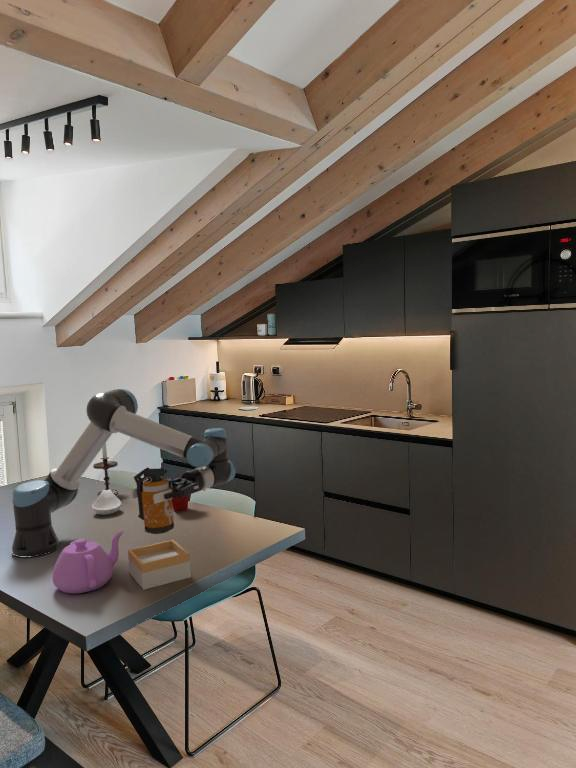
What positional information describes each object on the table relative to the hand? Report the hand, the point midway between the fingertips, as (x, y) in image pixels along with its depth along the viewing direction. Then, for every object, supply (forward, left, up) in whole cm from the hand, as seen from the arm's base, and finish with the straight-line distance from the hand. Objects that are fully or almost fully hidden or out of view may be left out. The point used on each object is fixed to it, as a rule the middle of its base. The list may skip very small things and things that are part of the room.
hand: (143, 496), depth 184 cm
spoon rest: (+6, +79, -25) cm, 83 cm away
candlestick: (+12, +103, -24) cm, 107 cm away
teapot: (-16, +4, -25) cm, 30 cm away
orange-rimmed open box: (+2, -4, -24) cm, 25 cm away
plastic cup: (+31, +57, -24) cm, 70 cm away
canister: (+4, +2, -12) cm, 13 cm away
